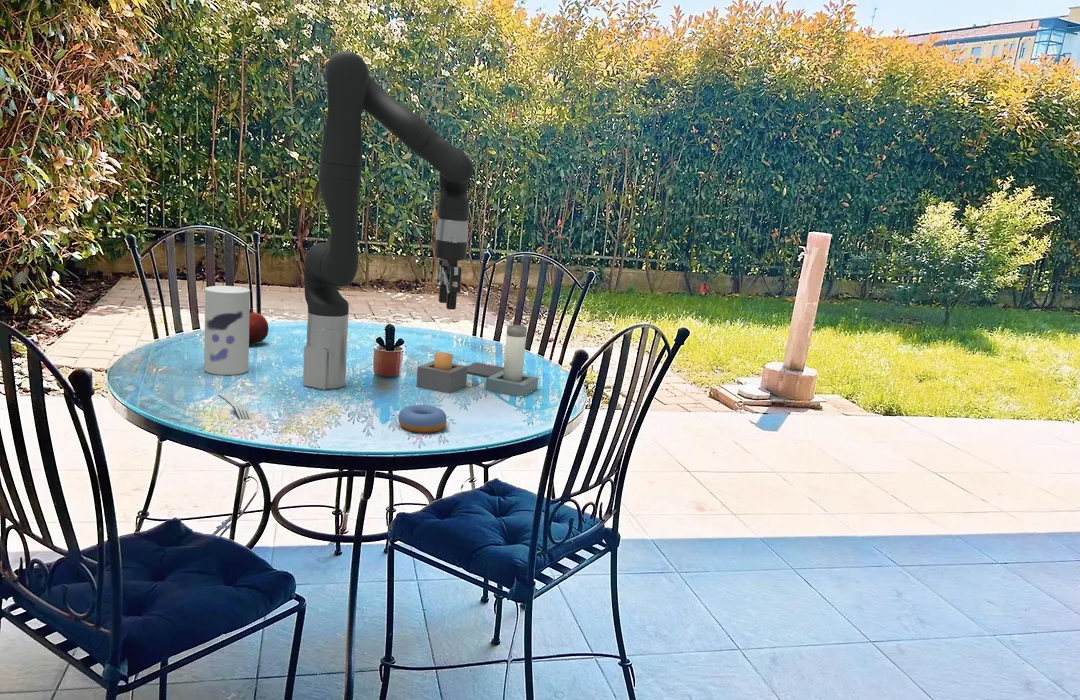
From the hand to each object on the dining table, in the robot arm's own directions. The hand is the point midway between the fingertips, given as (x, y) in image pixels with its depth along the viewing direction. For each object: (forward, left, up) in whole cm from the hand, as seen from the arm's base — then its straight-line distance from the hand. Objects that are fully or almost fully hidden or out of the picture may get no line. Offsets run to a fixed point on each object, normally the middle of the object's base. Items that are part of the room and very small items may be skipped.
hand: (446, 305), depth 203 cm
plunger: (0, 0, -18) cm, 18 cm away
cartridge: (+9, -15, -20) cm, 27 cm away
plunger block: (0, 0, -20) cm, 20 cm away
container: (-22, +47, -20) cm, 56 cm away
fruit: (+3, +62, -20) cm, 65 cm away
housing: (+9, -15, -20) cm, 27 cm away
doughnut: (-31, -12, -20) cm, 39 cm away
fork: (-43, +26, -21) cm, 55 cm away
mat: (+21, -2, -20) cm, 29 cm away
